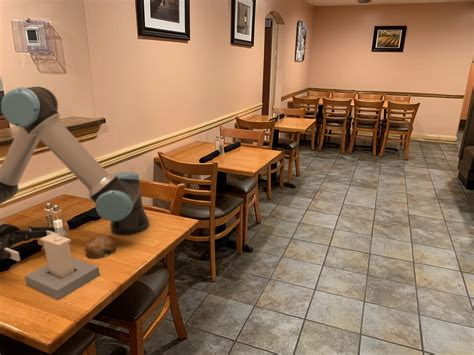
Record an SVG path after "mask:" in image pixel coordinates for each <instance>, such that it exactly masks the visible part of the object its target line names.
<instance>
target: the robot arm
mask: <svg viewBox="0 0 474 355" xmlns="http://www.w3.org/2000/svg"><path fill="white" fill-rule="evenodd" d="M0 105H1V107H0V109H1V113H2V115H3V117H4V119H5V120H6V122H8V123H10V124H11V125H13V126H16V127H18V130H17V133H16V134H15V137H14V139H13V141H12V142H11V144H10V147H9V148H8V152H7V153H6V155H5V158H4V159H3V162H2V164H1V166H0V205H2V204H4V203H5V202H6V201H8V200H10V199H12V198H14V196H16V195H17V194H18V192H19V183H20V180H21V179H22V176H23V175H24V172H25V170H26V168H27V166H28V165H29V163H30V160H31V158H32V156H33V154H34V153H35V150H36V148H37V146H38V145H39V142H40V141H41V142H42V143H44V145H45V146H46V147H48V149H49V150H50V152H52V153H53V154H54V155H55V156H56V157H57V158H58V160H60V161H61V163H62V164H63V165H64V166H65V167H66V168H67V169H68V170H69V171H70V172H71V173H72V174H73V175H74V176H75V177H76V178H77V180H78V181H80V182H81V184H82V185H84V187H85V188H86V189H87V190H88V191H89V192H88V197H89V199H91V201H92V202H93V203H94V205H95V210H96V212H97V214H98V216H99V217H101V219H104V220H106V221H109V222H110V231H111V232H112V234H114V235H119V236H129V235H135V234H138V233H142V232H143V231H145V230H147V229H148V228H149V227H150V221H149V220H150V219H149V218H148V216H147V214H146V211H145V210H144V207H143V206H144V205H143V199H142V198H143V197H142V191H141V189H142V188H141V182H140V181H141V179H140V175H139V173H137V172H135V171H134V172H133V171H128V172H127V171H126V172H117V173H112V174H111V173H110V174H109V173H108V172H107V171H106V170H105V169H104V167H103V166H102V165H101V164H100V163H99V161H97V160H96V159H95V158H94V156H93V155H92V154H90V152H89V151H88V150H87V149H86V148H85V146H84V145H82V143H81V142H79V140H78V139H77V138H76V137H75V136H74V135H73V133H71V131H69V129H68V128H67V127H66V126H65V125H64V124H63V123H62V122H61V121H60V119H61V117H60V116H61V115H60V113H59V111H58V109H59V103H58V99H57V98H56V96H55V94H54V93H53V92H52V91H50V90H49V89H48V88H45V87H42V86H31V87H18V88H17V87H16V88H14V89H11V90H9V91H7V92H5V94H4V95H3V97H2V99H1V102H0ZM52 233H53V234H56V235H59V236H61V234H60V233H58V232H56V229H55V226H31V225H30V226H28V227H27V229H25V230H24V229H20V228H19V227H18V226H16V225H13V224H10V223H9V222H8V223H7V222H4V221H1V220H0V260H5V259H11V260H14V261H16V262H20V261H21V257H20V253H19V251H16V250H14V249H12V247H13V246H15V245H17V244H19V243H22V242H28V241H29V242H30V241H31V240H33V239H40V238H43V237H45V236H48V235H50V234H52Z"/></svg>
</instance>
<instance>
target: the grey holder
mask: <svg viewBox="0 0 474 355" xmlns="http://www.w3.org/2000/svg"><path fill="white" fill-rule="evenodd" d="M71 259H72V264H73V269H74V272H73V273H72V274H70V275H68V276H66V277H64V278H63V279H60V278H58V277H55V276H53V275H50V270H49V265H48V264H46V265H45V266H43V267H40V268H38V269H36V270H34V271H32V272H30V273H28V274H26V275H24V279H25V284H26V285H27V287H30V288H32V289H35V290H37V291H39V292H42V293H44V294H45V295H49V296H50V297H52V298H55V299H56V300H61V299H62V298H64V297H66V296H68V295H69V294H70V293H73V292H74V291H76V290H78V289H80V287H83V286H84V285H86V284H88V283H89V282H91V281H92V280H94V279H96V278H98V277H99V276H101V275H100V269H99V266H97V265H95V264H92V263H89V262H86V261H83V260H80V259H77V258H74V257H72V256H71Z"/></svg>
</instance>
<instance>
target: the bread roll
mask: <svg viewBox="0 0 474 355" xmlns="http://www.w3.org/2000/svg"><path fill="white" fill-rule="evenodd" d="M116 248H117V246H116V242H115V240H114V239H113V238H111V237H110V236H107V235H103V234H99V235H98V234H97V235H95V236H93V237H91V238H90V239H89V240H88V241H87V242H86V244H85V246H84V249H85V250H84V252H85V254H86V256H87V257H89V258H92V259H101V258H107V257H109V256H110V255H112V254H113V252H115V251H116Z"/></svg>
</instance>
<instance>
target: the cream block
mask: <svg viewBox="0 0 474 355" xmlns="http://www.w3.org/2000/svg"><path fill="white" fill-rule="evenodd" d="M39 239H40V242H42V243H43V248H44V250H45V255H46V260H47V265H49V270H50V275H53V276H55V277H58V278H60V279H63V278H64V277H66V276H68V275H70V274H72V273H73V272H74V269H73V264H72V259H71V257H72V253H71V249H70V244H69V243H71V242H72V240H71V238H67V237H65V236H62V235H60V236H59V235H56V234H53V233H52V234H50V235H48V236H45V237H43V238H39Z"/></svg>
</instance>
